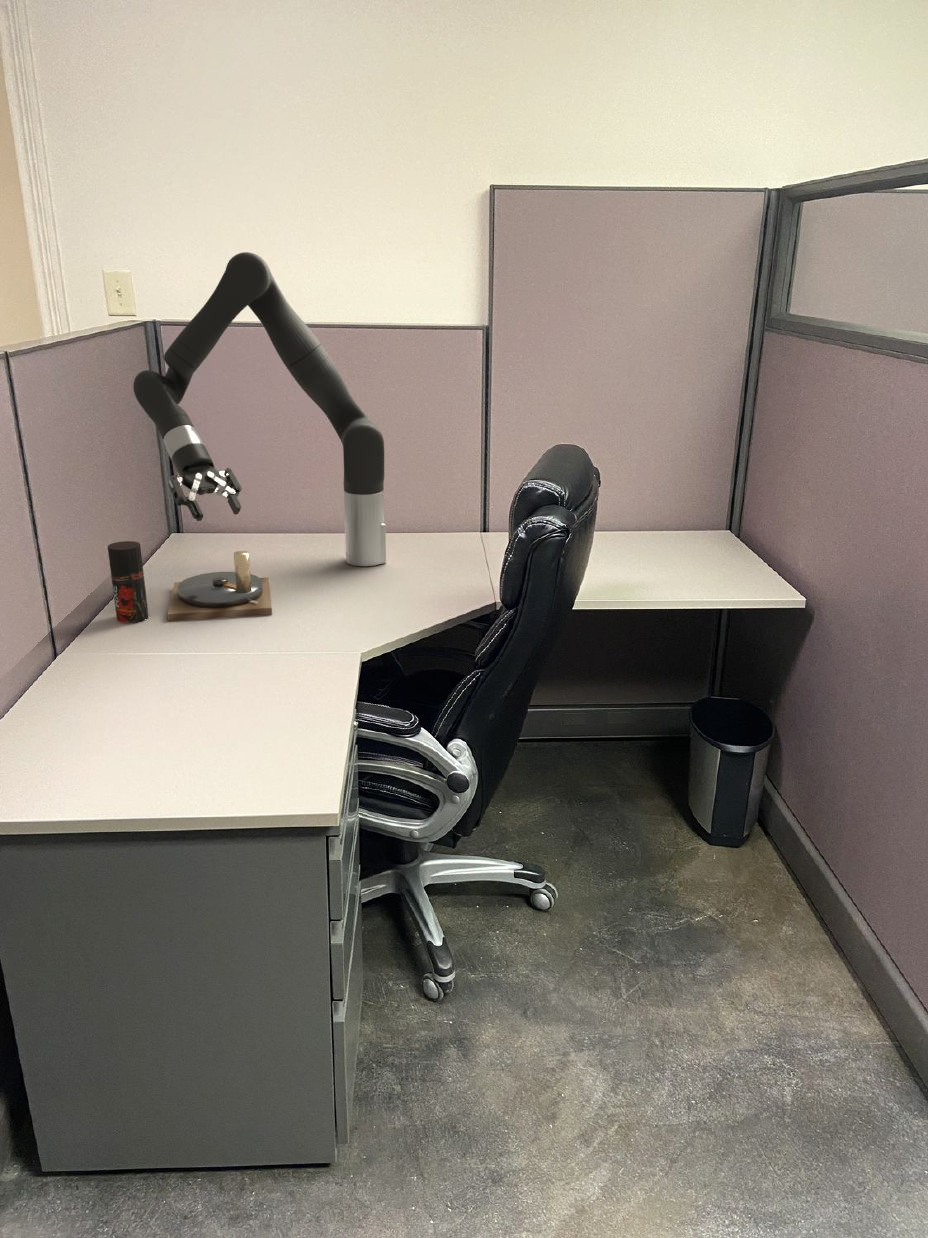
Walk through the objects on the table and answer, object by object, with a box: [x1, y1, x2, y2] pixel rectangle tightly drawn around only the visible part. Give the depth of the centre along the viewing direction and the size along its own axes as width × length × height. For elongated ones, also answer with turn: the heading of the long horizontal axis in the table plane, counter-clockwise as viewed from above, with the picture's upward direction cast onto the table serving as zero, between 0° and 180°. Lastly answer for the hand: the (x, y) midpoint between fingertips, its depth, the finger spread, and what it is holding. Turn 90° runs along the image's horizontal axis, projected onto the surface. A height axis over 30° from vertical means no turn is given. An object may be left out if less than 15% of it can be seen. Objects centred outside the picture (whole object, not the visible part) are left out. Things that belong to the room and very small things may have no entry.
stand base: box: [167, 576, 273, 622], centre depth 191 cm, size 20×20×2 cm
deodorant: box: [107, 540, 149, 625], centre depth 179 cm, size 6×6×15 cm
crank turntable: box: [178, 550, 263, 607], centre depth 189 cm, size 17×17×10 cm
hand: (219, 515), depth 190 cm, fingers open, 8 cm apart
